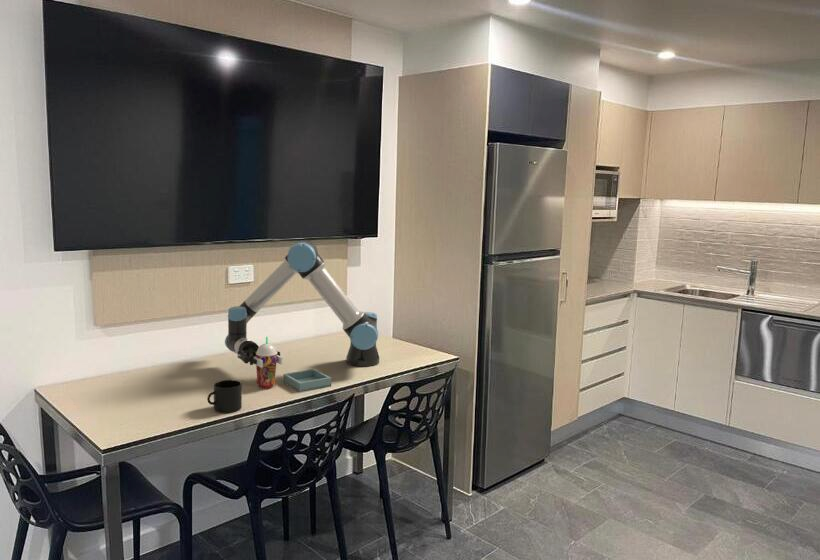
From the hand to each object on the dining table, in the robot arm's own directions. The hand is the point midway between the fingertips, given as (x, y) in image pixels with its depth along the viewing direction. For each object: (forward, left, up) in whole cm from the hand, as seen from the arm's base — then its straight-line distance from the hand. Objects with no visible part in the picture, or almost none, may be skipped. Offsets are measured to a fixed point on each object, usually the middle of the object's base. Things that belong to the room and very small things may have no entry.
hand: (271, 362), depth 240 cm
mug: (+23, +10, -11) cm, 28 cm away
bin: (-15, +1, -11) cm, 19 cm away
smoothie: (0, -5, -11) cm, 12 cm away
